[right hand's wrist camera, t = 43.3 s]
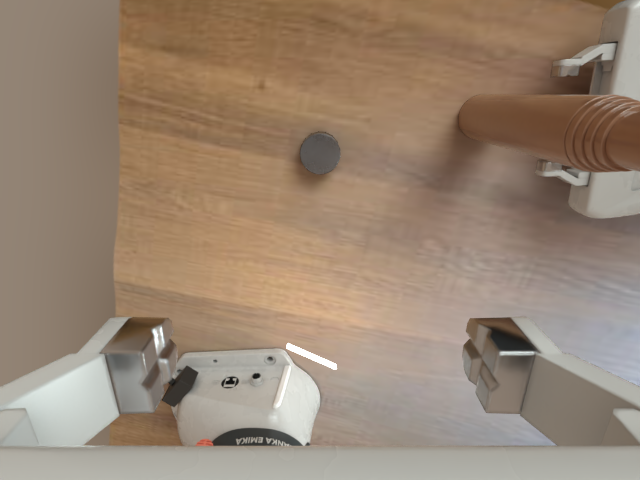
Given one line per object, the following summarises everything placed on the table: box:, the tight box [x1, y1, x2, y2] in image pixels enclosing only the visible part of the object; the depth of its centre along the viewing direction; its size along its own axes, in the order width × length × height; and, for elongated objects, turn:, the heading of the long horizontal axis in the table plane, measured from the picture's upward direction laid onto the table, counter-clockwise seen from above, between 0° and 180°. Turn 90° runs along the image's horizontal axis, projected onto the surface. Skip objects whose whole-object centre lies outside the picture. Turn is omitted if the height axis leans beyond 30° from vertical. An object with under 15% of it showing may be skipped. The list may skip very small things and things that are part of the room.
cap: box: [300, 131, 340, 174], centre depth 43 cm, size 4×5×2 cm
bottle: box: [458, 94, 640, 173], centre depth 31 cm, size 5×5×26 cm
